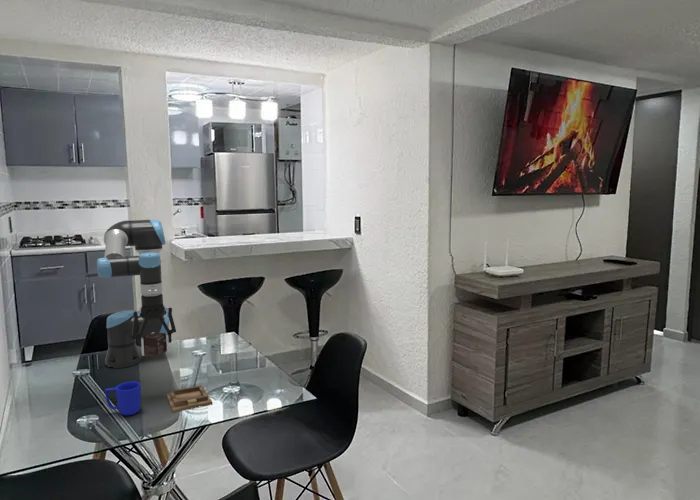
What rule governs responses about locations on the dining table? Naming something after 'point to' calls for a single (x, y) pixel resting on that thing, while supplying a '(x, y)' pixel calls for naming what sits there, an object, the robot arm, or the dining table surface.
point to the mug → (126, 397)
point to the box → (154, 344)
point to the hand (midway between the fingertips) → (155, 352)
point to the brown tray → (188, 398)
